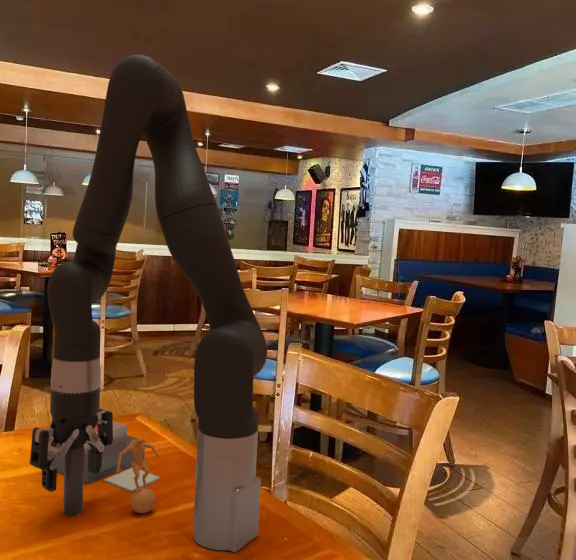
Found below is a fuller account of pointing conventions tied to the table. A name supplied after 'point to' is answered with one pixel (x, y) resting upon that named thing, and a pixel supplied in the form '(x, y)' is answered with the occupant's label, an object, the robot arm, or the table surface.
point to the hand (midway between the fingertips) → (72, 480)
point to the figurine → (142, 496)
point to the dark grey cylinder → (73, 481)
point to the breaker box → (107, 455)
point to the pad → (130, 480)
